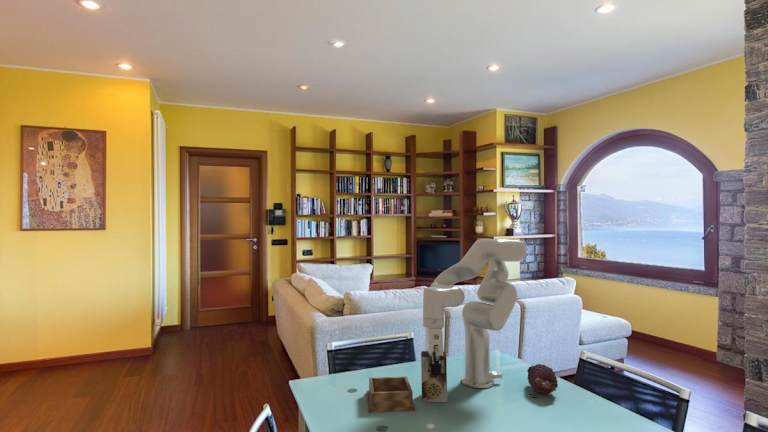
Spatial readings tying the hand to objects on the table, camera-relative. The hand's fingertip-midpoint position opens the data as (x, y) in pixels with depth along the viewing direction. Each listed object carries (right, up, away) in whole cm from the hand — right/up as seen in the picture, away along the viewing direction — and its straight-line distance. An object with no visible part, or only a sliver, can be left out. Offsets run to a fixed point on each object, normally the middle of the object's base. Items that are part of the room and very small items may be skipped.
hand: (432, 370), depth 151 cm
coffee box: (+1, -11, 0) cm, 11 cm away
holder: (-15, -10, -2) cm, 19 cm away
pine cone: (+41, -10, +6) cm, 43 cm away
